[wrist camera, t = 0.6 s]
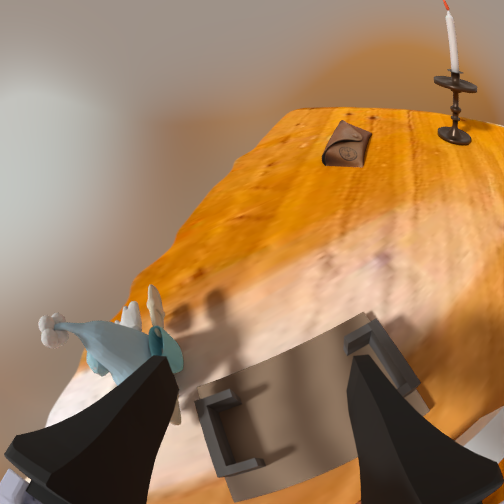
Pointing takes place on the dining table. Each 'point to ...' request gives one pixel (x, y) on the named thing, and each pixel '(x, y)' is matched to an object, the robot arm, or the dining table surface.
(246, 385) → the cradle jig
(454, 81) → the candlestick
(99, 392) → the dining table surface
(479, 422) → the white rectangular block
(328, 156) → the sunglasses case
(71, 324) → the toy figure
